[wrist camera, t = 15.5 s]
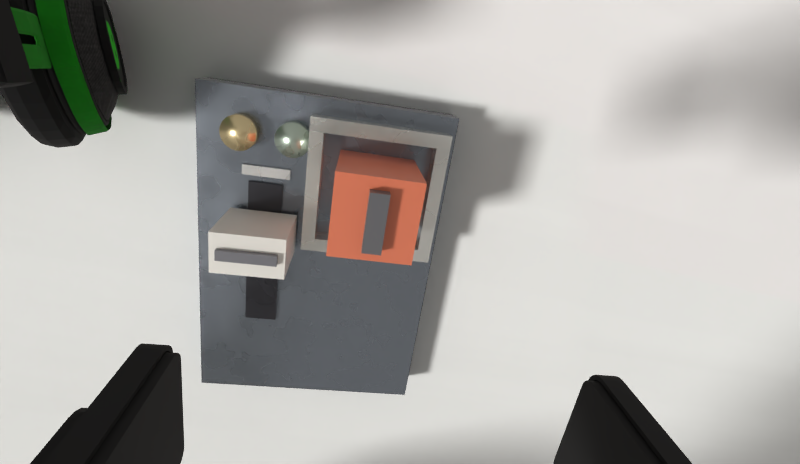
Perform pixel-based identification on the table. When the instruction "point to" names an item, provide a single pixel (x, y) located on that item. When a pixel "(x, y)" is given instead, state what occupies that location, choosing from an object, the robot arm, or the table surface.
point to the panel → (310, 239)
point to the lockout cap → (375, 208)
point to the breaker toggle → (252, 243)
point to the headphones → (60, 67)
